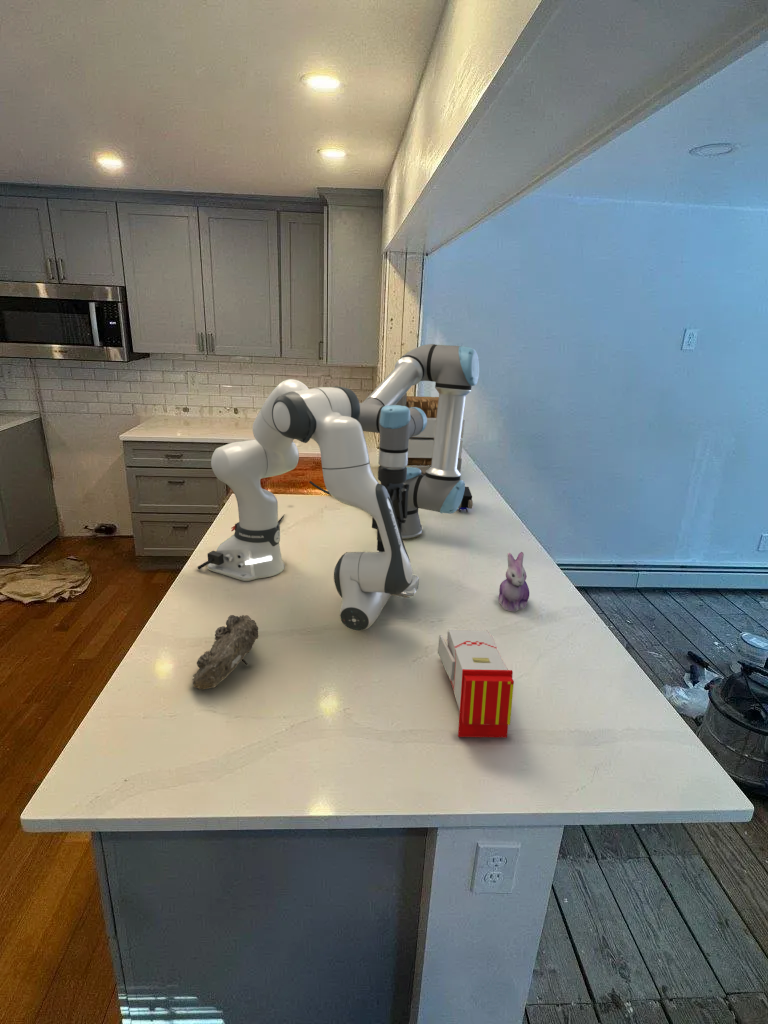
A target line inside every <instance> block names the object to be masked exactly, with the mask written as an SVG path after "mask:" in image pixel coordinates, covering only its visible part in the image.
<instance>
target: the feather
mask: <svg viewBox="0 0 768 1024" xmlns="http://www.w3.org/2000/svg"><path fill="white" fill-rule="evenodd" d="M285 515H286V514H283V515H282V516H281V518H279V519H278V522H279V525H281V522H282V520H283V519H284V516H285Z"/></svg>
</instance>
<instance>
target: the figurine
mask: <svg viewBox="0 0 768 1024" xmlns="http://www.w3.org/2000/svg"><path fill="white" fill-rule="evenodd" d="M506 556H507V569H506V571H505V579H504V580H502V581H501V583H500V585H499V591H498V592H499V593H498V597H497V598H498V600H497V601H498V604H499V605H500V606H501V607H502V609H503V610H505V611H507V612H508V611H509V612H518V611H520V610H521V611H522V610H524V609H525V608H526V607H527V605H528V601H529V599H530V588H529V585H528V584H527V581H526V580H527V571H526V570H525V567H524V552H523V551H520V552H519V553H518V555H517V557H516V559H515V557H514V556H513V554H512V553H511V552H508V553H507V555H506Z"/></svg>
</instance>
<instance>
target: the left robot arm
mask: <svg viewBox="0 0 768 1024" xmlns="http://www.w3.org/2000/svg"><path fill="white" fill-rule="evenodd" d="M359 403H360V400H359V398H358V396H357V394H356V393H355V392H354V391H353V389H350V388H347V387H345V386H335V385H334V386H331V387H329V386H319V387H318V386H317V387H312V388H309V387H308V386H307V385H306V384H305V383H303V382H302V381H301V380H298V379H291V378H290V379H285V380H283V381H281V382H280V383H278V385H277V386H276V387H275V388H274V389H273V390H271V392H270V393H269V395H268V396H267V398H266V399H265V401H264V403H263V404H262V406H261V408H260V409H259V411H258V413H257V415H256V417H255V418H254V421H253V422H252V434H253V437H254V439H249V440H248V439H247V440H242V441H234V442H233V441H232V442H229V443H227V444H223V445H221V446H219V447H216V448H215V450H214V451H213V452H212V455H211V458H210V466H211V470H212V472H213V475H214V477H216V478H217V479H218V480H219V481H220V482H222V483H224V484H225V485H227V486H228V487H229V488H230V489H231V491H232V492H233V494H234V497H235V499H236V504H237V512H238V522H236V523H235V524H234V525H233V526H232V527H231V528H230V531H231V532H233V531H234V533H233V534H231V536H229V537H228V538H227V539H225V540H224V541H222V542H221V543H220V544H219V545H218V547H217V548H216V550H212V551H209V552H207V554H206V555H207V561H205V562H204V563H201V564H200V565H198V566H197V567H196V568H197V569H198V570H201V569H202V568H205V567H206V566H207V570H208V571H211V572H214V573H217V574H220V575H223V576H227V577H229V578H233V579H237V580H238V581H239V580H240V581H242V582H249V581H254V580H257V579H265V578H271V577H273V576H277V575H279V574H281V573H282V572H283V571H284V570H285V567H286V566H285V562H284V560H283V556H282V551H281V545H280V541H281V526H280V525H281V524H279V522H278V521H279V504H278V503H279V502H278V499H277V496H276V495H275V494H274V493H273V492H271V491H270V490H268V489H266V488H262V484H261V479H266V478H272V477H277V476H281V475H284V474H286V473H289V472H291V471H293V470H294V469H296V468H297V466H298V463H299V460H300V452H299V449H298V446H297V444H296V443H295V442H294V440H297V441H299V442H301V443H304V444H308V442H310V440H311V439H312V440H313V441H315V442H316V445H318V448H319V451H320V459H321V460H320V461H321V462H320V463H321V470H322V478H323V483H324V487H325V488H326V489H325V490H326V491H328V492H329V493H330V494H331V495H332V497H333V498H334V499H335V500H337V501H338V502H340V503H342V504H344V505H347V506H350V507H353V508H356V509H359V510H361V511H364V512H365V513H367V514H368V515H369V516H371V517H373V518H374V519H375V521H376V523H377V525H378V529H379V532H380V536H381V539H382V543H383V546H384V550H385V552H379V551H346V552H344V553H343V554H342V555H341V557H339V559H338V561H337V562H336V564H335V566H334V570H333V581H334V582H333V583H334V586H335V589H336V591H337V593H338V595H339V597H340V598H341V605H340V606H341V607H340V609H339V619H340V621H341V623H342V624H343V625H344V626H345V627H346V628H347V629H349V630H352V631H358V632H361V631H365V630H367V629H368V628H370V627H371V626H372V625H374V623H375V622H376V620H378V618H379V616H380V615H381V612H382V610H383V608H384V607H385V606H386V604H387V603H388V601H389V599H390V597H391V596H393V597H398V598H404V599H407V598H411V597H414V596H415V594H416V593H417V591H418V589H419V586H420V577H419V576H418V575H416V574H414V571H413V566H412V562H411V558H410V556H409V554H408V552H407V549H406V547H405V543H404V540H403V539H402V536H401V532H400V529H399V525H398V522H397V518H396V515H395V511H394V508H393V505H392V502H391V499H390V496H389V493H388V491H387V489H386V488H385V486H383V485H381V483H380V482H378V479H376V477H375V475H374V473H373V471H372V468H371V463H370V455H369V449H368V444H367V441H366V436H365V433H364V431H363V430H362V426H361V424H360V423H359V422H358V419H359V415H360V404H359ZM331 495H330V496H331Z"/></svg>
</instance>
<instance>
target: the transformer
mask: <svg viewBox="0 0 768 1024" xmlns="http://www.w3.org/2000/svg"><path fill="white" fill-rule="evenodd" d="M407 394H408V392H406V393H405V394H404V396H403V397H402V398H401V399H400V400H399V401H398V403H397V404H396V405H401V406H406V407H408V408H409V407H417V408H420V409H421V410H423V411H424V413H425V414H426V417H427V425H426V427H425V429H424V430H423V431H422V432H421V433H420V434H418V435H417V436H413V437H411V438H409V443H408V464H407V466H406V467H417V466H418V467H431V463H432V454H433V445H434V436H435V427H436V418H437V409H438V399H439V396H415V395H414V396H413V395H412V396H411V395H407ZM464 429H465V419H464V418H463V422H462V430H461V438H460V446H459V455H458V463H457V470H458V471H459V473H460V474H461V475H462V473H461V472H462V461H463V460H462V453H463V442H464V441H463V440H462V439H463V438H464V431H465V430H464Z"/></svg>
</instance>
